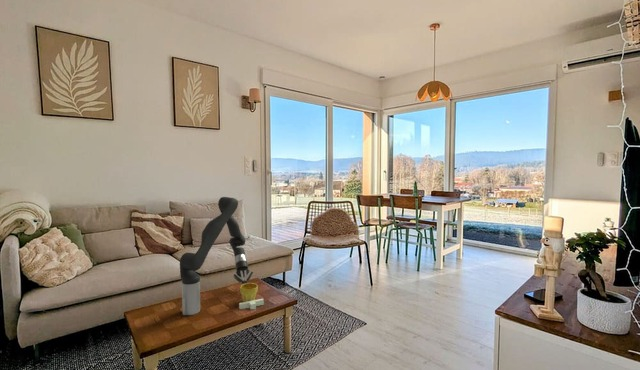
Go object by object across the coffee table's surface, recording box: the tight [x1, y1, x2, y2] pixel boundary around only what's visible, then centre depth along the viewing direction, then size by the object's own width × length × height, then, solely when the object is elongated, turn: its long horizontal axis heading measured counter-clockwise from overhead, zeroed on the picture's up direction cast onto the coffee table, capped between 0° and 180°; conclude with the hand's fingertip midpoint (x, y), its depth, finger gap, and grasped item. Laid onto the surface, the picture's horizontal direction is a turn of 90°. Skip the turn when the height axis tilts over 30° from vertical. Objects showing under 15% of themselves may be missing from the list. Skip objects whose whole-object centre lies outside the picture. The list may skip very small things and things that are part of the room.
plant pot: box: [239, 282, 259, 302], centre depth 186 cm, size 10×10×10 cm
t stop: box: [238, 298, 265, 310], centre depth 179 cm, size 14×5×3 cm, turn 117°
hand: (245, 287), depth 194 cm, fingers closed
